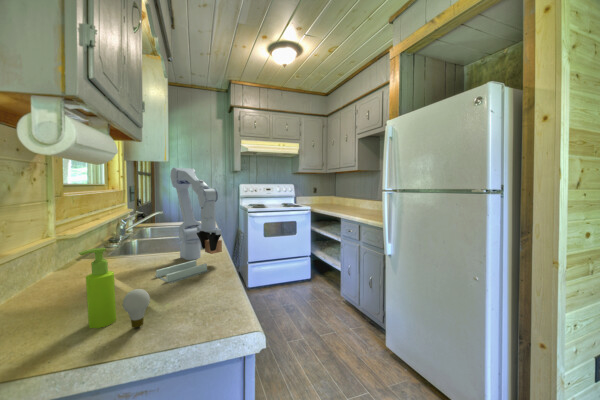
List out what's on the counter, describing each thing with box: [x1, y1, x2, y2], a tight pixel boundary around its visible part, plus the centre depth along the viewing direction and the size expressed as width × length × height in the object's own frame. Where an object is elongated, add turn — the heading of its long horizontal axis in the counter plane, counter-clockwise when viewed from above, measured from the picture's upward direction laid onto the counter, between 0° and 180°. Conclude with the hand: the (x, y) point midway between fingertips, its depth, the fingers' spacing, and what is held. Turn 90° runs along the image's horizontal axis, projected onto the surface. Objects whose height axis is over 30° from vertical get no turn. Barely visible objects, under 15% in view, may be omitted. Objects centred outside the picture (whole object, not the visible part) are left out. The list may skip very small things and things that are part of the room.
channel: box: [154, 259, 210, 284], centre depth 103 cm, size 12×16×4 cm
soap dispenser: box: [78, 247, 117, 329], centre depth 70 cm, size 6×7×20 cm
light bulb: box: [122, 288, 151, 329], centre depth 68 cm, size 6×6×10 cm
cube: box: [204, 239, 223, 255], centre depth 114 cm, size 5×5×5 cm
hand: (209, 249), depth 112 cm, fingers closed on cube, 5 cm apart
